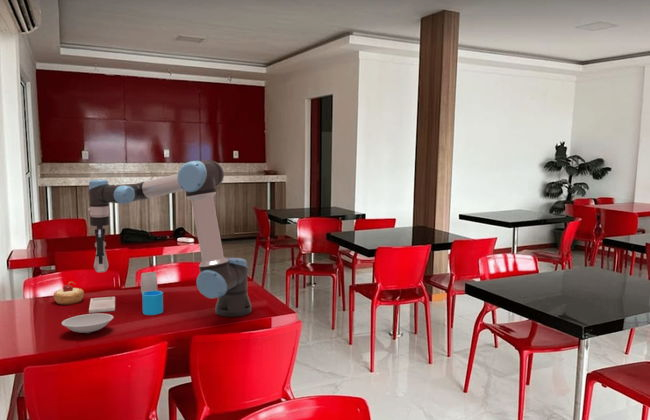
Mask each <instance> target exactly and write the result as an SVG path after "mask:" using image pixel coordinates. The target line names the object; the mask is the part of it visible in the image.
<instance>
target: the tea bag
mask: <svg viewBox="0 0 650 420" xmlns="http://www.w3.org/2000/svg"><path fill="white" fill-rule="evenodd" d="M157 278H158V277H157V271H149V272H142V273H141V274H140V293H141V295H142V294H143V293H144V292H147V291H158V279H157Z"/></svg>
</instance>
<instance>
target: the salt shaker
mask: <svg viewBox="0 0 650 420" xmlns="http://www.w3.org/2000/svg"><path fill="white" fill-rule="evenodd" d="M106 246H107V242H106V241H105V240H104V241H103V248H104V267H105V271H98V267H97V257H95V258H94V263H93V268H94V270H95V272H96V273H105V272H107V270H108V269H109V260H108V257H107V251H106V252H105V250H106V248H105V247H106ZM94 247H95V248H97V241H95V243H94ZM95 255H97V249H96V252H95Z"/></svg>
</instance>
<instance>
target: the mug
mask: <svg viewBox="0 0 650 420" xmlns="http://www.w3.org/2000/svg"><path fill="white" fill-rule="evenodd" d="M141 295H142V300H141V301H142V313H143V315H146V316H154V315H160V314H162V313H164V292H163V291H161V290H157V291H147V292H144V293H143V294H141Z"/></svg>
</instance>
